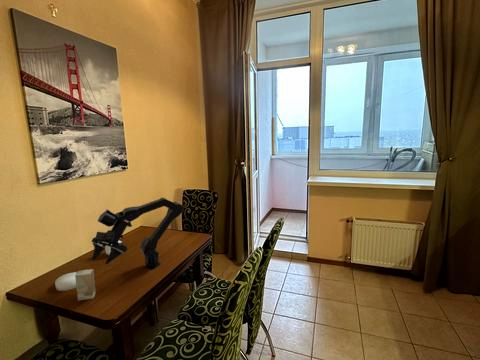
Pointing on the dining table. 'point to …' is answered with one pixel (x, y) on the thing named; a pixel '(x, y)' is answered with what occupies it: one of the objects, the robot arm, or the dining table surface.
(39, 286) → the dining table surface
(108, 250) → the medicine bottle
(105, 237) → the robot arm
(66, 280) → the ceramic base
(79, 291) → the skincare box
